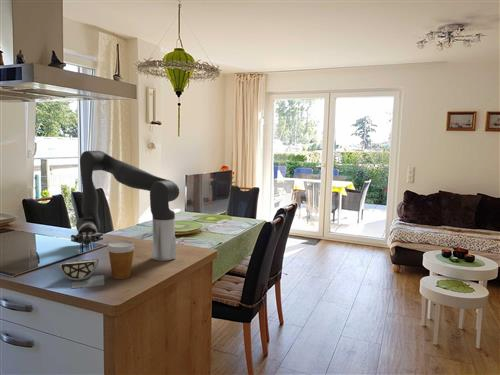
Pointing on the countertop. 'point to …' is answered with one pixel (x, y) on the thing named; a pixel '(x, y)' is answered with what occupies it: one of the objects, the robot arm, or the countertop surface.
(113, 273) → the disposable coffee cup
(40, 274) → the countertop surface
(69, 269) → the food container
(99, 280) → the mat
